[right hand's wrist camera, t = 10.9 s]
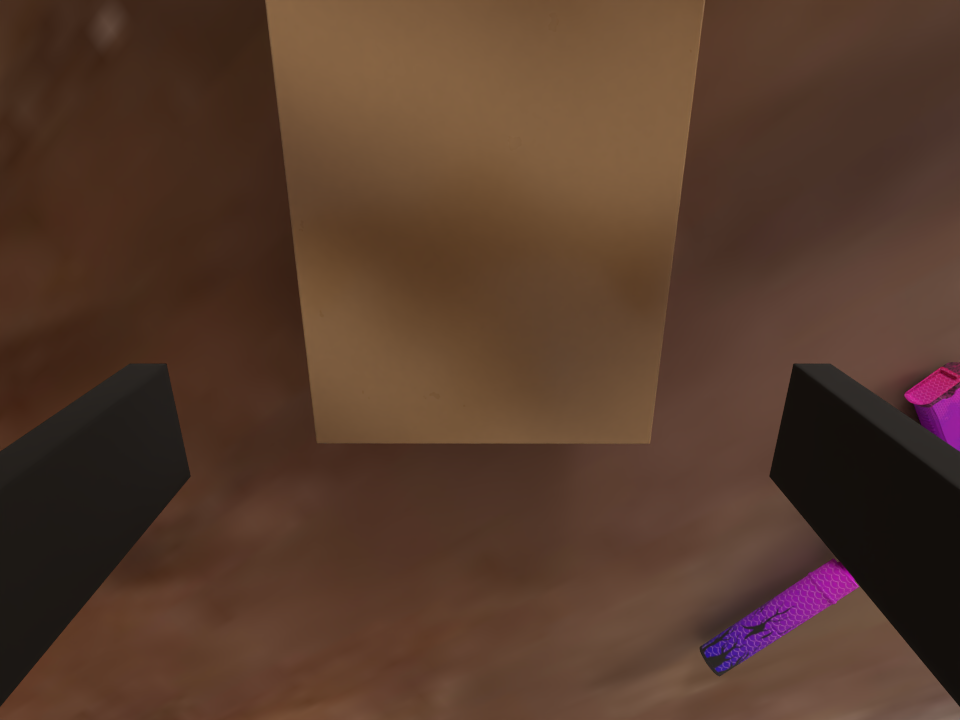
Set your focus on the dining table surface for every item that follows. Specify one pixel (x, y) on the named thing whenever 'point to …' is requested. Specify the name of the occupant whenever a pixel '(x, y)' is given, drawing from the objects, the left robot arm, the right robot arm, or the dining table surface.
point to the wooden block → (484, 211)
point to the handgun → (943, 411)
